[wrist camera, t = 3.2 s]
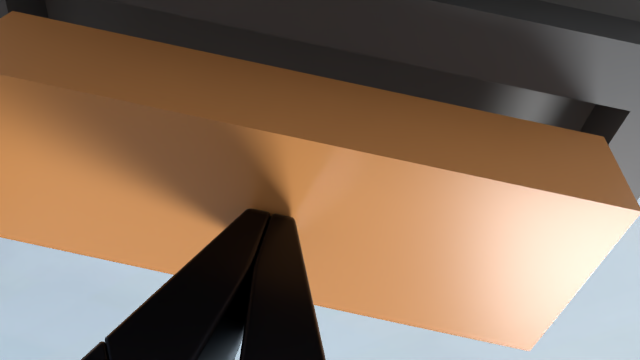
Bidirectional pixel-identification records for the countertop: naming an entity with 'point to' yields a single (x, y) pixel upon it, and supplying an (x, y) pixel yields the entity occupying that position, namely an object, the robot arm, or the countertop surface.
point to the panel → (419, 50)
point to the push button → (302, 179)
